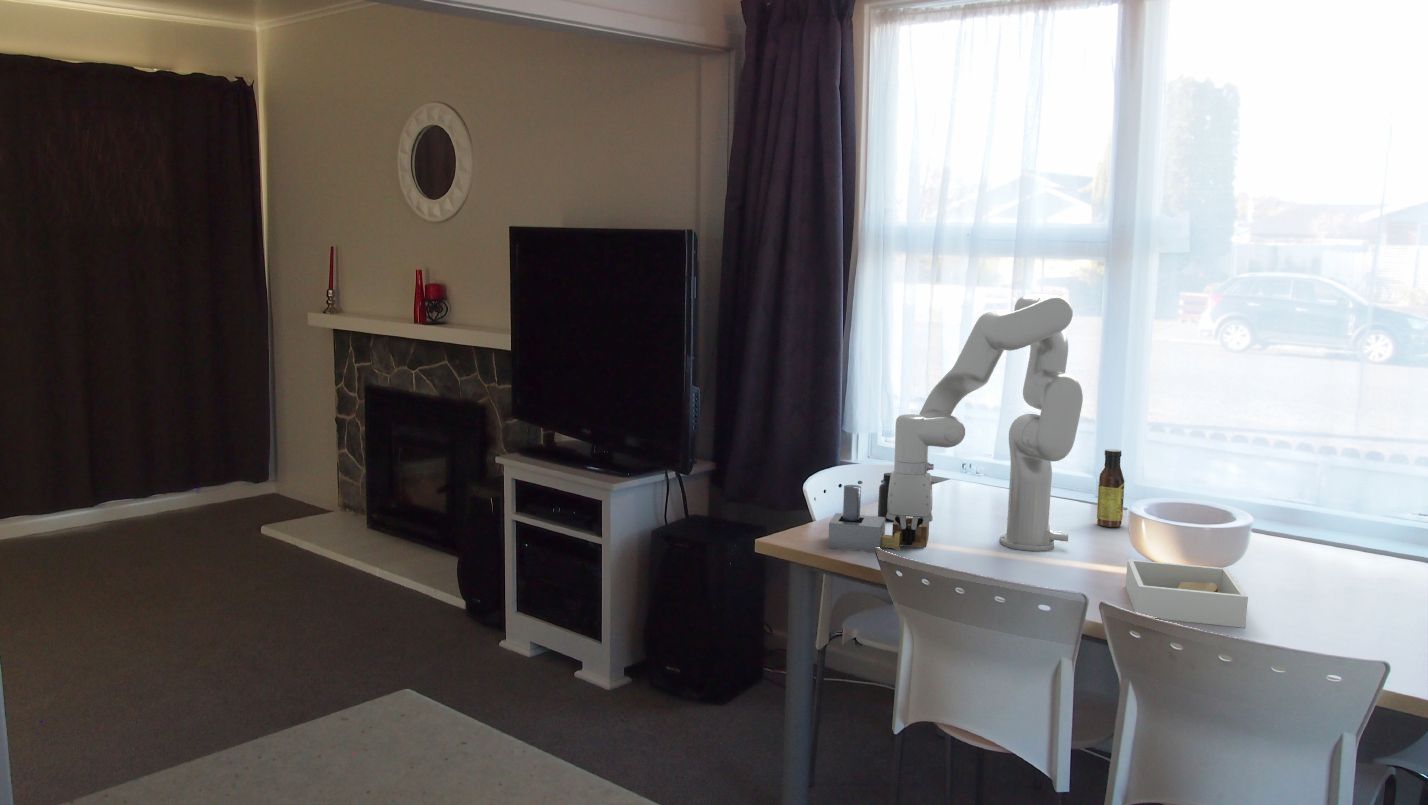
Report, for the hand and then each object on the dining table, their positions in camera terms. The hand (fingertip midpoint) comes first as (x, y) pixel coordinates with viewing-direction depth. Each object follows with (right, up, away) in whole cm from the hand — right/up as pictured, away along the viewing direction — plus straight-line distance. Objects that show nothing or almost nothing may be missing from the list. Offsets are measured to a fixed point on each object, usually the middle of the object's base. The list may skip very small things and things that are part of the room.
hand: (908, 544), depth 239 cm
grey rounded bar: (-13, 0, +4) cm, 14 cm away
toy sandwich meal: (+48, -8, -35) cm, 60 cm away
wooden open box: (+2, 0, +7) cm, 7 cm away
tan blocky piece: (-6, -1, +2) cm, 7 cm away
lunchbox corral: (+47, -7, -37) cm, 60 cm away
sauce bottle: (+57, +1, +26) cm, 63 cm away
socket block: (-12, -1, +3) cm, 12 cm away
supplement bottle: (+1, +2, +29) cm, 29 cm away
